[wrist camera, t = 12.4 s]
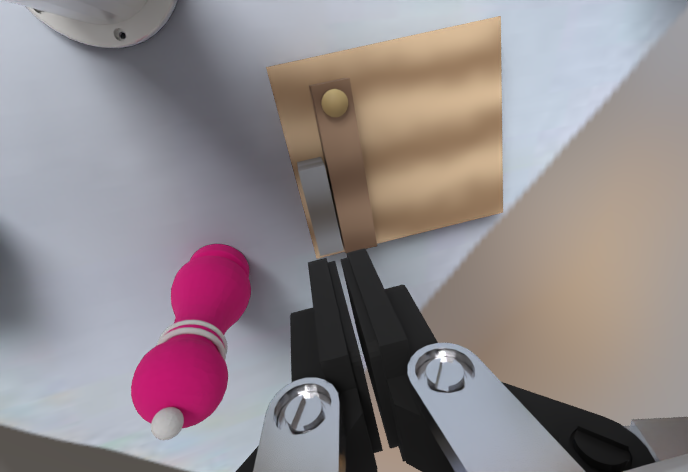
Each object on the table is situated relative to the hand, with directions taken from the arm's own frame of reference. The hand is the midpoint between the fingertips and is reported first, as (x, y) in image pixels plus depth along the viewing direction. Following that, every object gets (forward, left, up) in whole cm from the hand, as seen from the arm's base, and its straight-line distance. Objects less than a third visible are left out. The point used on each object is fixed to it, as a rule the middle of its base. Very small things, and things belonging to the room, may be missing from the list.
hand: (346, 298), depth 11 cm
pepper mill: (+11, -12, -27) cm, 32 cm away
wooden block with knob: (+2, +9, -27) cm, 28 cm away
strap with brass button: (+2, +3, -24) cm, 24 cm away
